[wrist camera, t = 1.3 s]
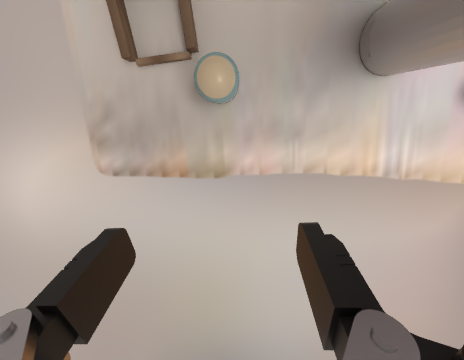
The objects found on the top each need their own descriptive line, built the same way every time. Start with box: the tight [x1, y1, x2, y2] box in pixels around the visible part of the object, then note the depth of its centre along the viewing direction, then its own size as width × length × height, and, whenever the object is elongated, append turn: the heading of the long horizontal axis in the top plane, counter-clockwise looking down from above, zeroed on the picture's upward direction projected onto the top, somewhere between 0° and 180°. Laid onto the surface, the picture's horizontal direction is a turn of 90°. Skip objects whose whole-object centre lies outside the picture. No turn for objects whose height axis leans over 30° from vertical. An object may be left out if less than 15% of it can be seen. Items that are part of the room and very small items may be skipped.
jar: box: [194, 52, 239, 103], centre depth 26 cm, size 5×5×10 cm
